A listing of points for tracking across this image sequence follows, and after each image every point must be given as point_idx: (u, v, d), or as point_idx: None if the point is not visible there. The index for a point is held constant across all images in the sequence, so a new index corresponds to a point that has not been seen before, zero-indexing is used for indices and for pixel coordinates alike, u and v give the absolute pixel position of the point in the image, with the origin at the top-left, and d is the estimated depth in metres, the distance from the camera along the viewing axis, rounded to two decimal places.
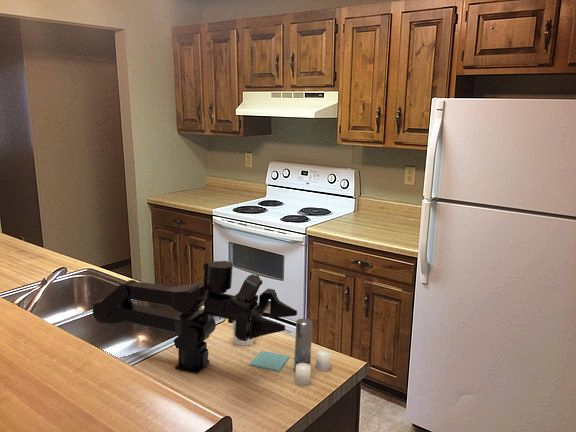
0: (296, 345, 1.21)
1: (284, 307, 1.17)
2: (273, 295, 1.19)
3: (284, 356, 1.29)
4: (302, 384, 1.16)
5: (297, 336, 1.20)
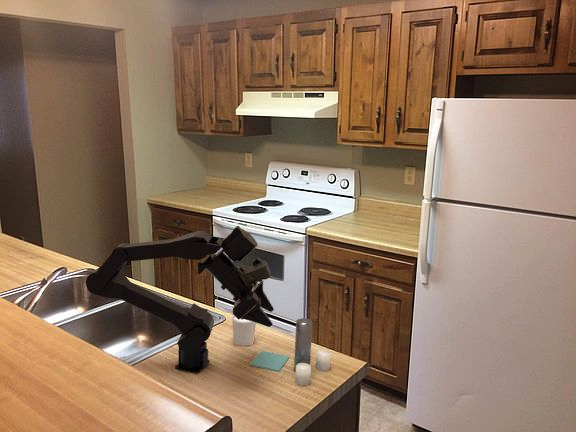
0: (296, 345, 1.21)
1: (266, 299, 1.24)
2: (262, 284, 1.24)
3: (284, 356, 1.29)
4: (302, 384, 1.16)
5: (297, 336, 1.20)
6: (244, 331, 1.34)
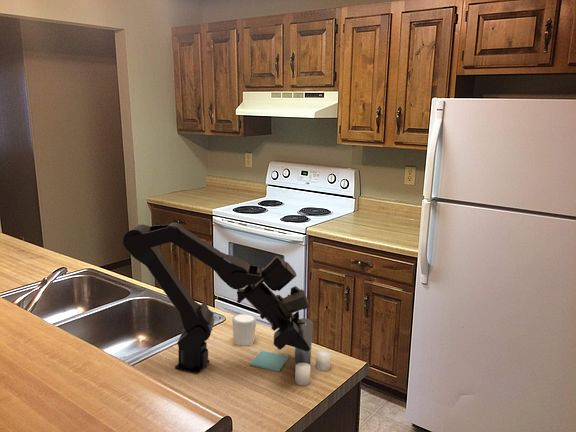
0: None
1: None
2: (298, 315, 1.24)
3: (284, 356, 1.29)
4: (303, 384, 1.16)
5: None
6: (244, 331, 1.34)
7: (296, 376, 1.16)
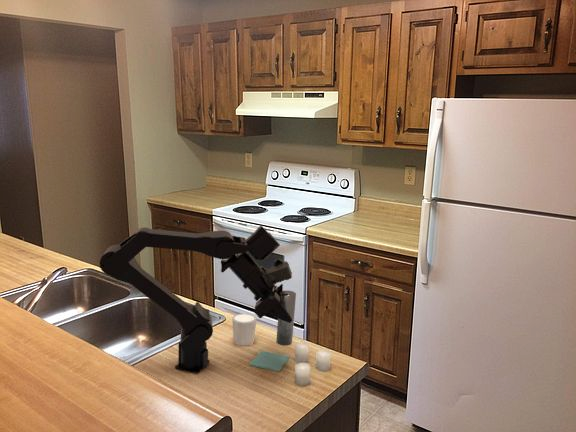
0: None
1: None
2: (282, 287, 1.24)
3: (284, 356, 1.29)
4: (304, 384, 1.16)
5: None
6: (244, 331, 1.34)
7: (296, 377, 1.16)
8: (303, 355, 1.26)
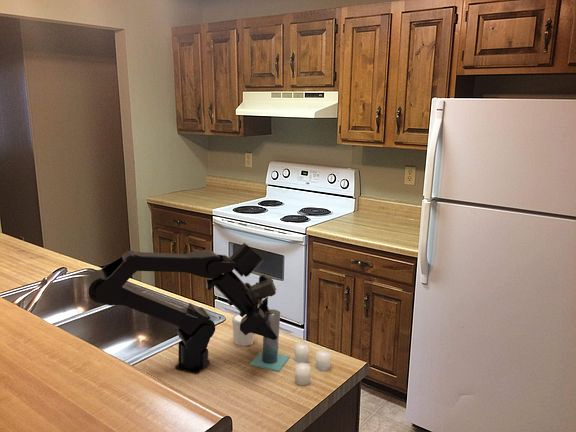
0: None
1: None
2: (267, 300, 1.28)
3: (284, 356, 1.29)
4: (305, 383, 1.16)
5: None
6: None
7: (297, 377, 1.16)
8: (303, 355, 1.26)
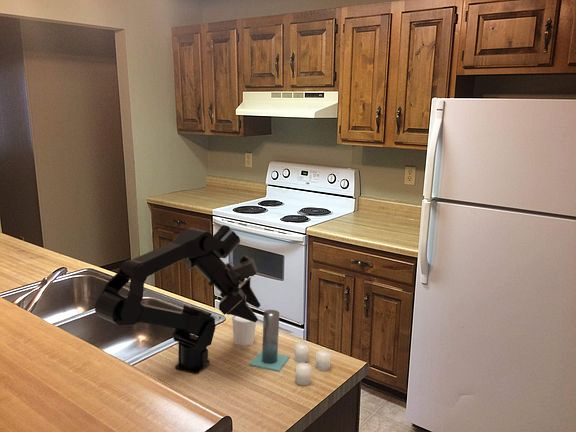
0: (263, 335, 1.24)
1: (253, 296, 1.28)
2: (250, 280, 1.28)
3: (284, 356, 1.29)
4: (306, 383, 1.16)
5: (264, 327, 1.23)
6: (244, 331, 1.34)
7: (299, 377, 1.16)
8: (303, 355, 1.26)
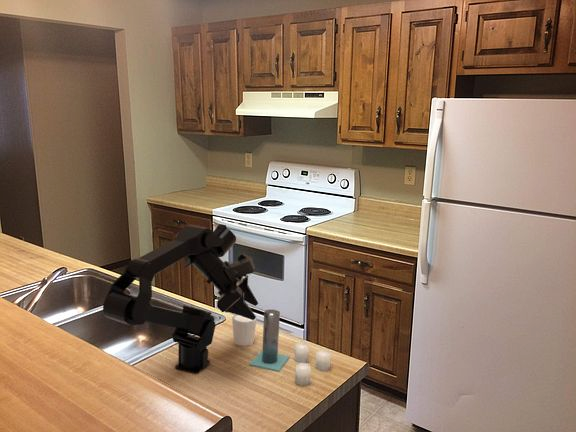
0: (264, 335, 1.24)
1: (250, 294, 1.28)
2: (247, 278, 1.28)
3: (284, 356, 1.29)
4: (307, 383, 1.16)
5: (265, 326, 1.24)
6: (244, 331, 1.34)
7: (299, 378, 1.16)
8: (303, 355, 1.26)
